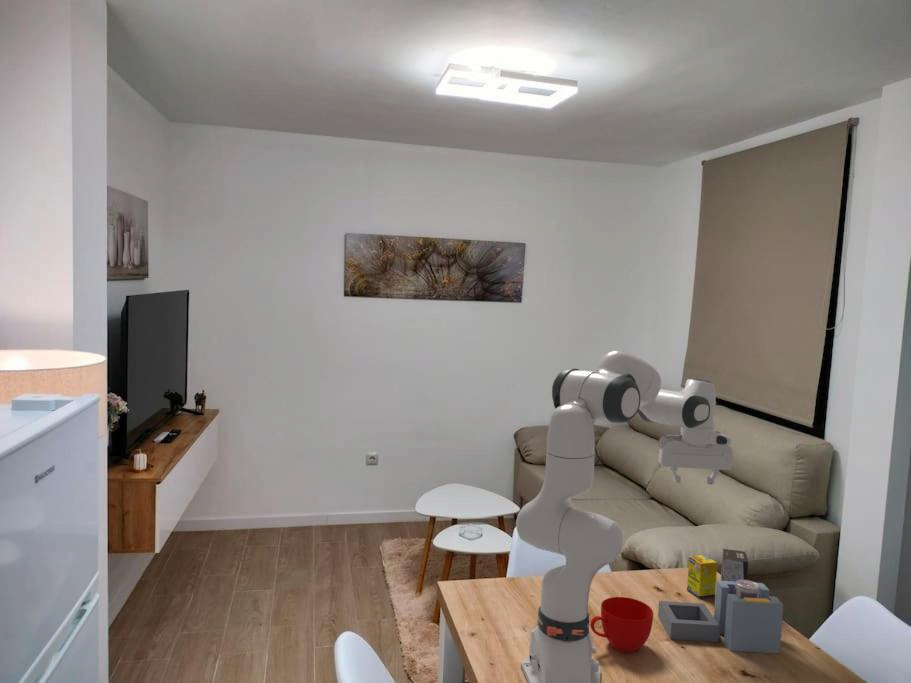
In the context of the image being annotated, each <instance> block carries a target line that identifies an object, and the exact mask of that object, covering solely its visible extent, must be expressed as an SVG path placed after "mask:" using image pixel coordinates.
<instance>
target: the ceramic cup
mask: <svg viewBox="0 0 911 683" xmlns="http://www.w3.org/2000/svg"><path fill="white" fill-rule="evenodd" d="M653 620H654V611H653V609H652V607H651V606H649V605H648V604H647V603H645V602H643V601H641V600H638V599H635V598H631V597H625V596H612V597H608V598H605V599H604V600H602V602H601V604H600V615H597V616H594V617H592V619H591V620H590V622H589V627H590V629H591V631H592V632H593V633H594V634H595V635H597V636H598V637H602V638H606V639H607V640H608V642H609V643H610V645H611V646H612V647H613V649H615V650H616V651H619V652H621V653H627V654H629V653H630V654H632V653H635V652H637V651H638V650H640V648H642V646H644V644H646V642H647V641H648V639H649V637H650V635H651V631H652V626H653V622H654V621H653ZM597 621H601V626H602V631H603V632H599V631H597V630H596V629H595V624H596V622H597Z"/></svg>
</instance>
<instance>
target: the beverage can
mask: <svg viewBox="0 0 911 683" xmlns="http://www.w3.org/2000/svg"><path fill="white" fill-rule="evenodd" d="M757 583H758V582H754V581H752V580H749V579H747V580H737V581H736V584H735V592H734V594H735V595H736V596H737V597H738V598H742V599H744V597H745V598H759V585H758V584H757Z"/></svg>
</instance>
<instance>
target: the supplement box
mask: <svg viewBox="0 0 911 683" xmlns="http://www.w3.org/2000/svg"><path fill="white" fill-rule="evenodd" d="M687 572H688V573H687V584H686V590H687V591H688V592H690V593H691V594H692V595H693V596H695V597H697V599H699V600H700V598H701V599H708V597H709V598H715V594H716V581H717V574H718V561H715V560H713V559H712V558H710V557H709V556H707V555H705V554H700V555H699V554H698V555H690V556H689V557H688V570H687Z"/></svg>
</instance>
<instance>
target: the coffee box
mask: <svg viewBox="0 0 911 683" xmlns="http://www.w3.org/2000/svg"><path fill="white" fill-rule="evenodd" d="M748 571H749V560H748V557H747V553H746V551H744V550H743V551H742V550H736V549H725V548H723V549H722V559H721V574H720V581H733V582H736V581H737V580H748Z"/></svg>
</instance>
